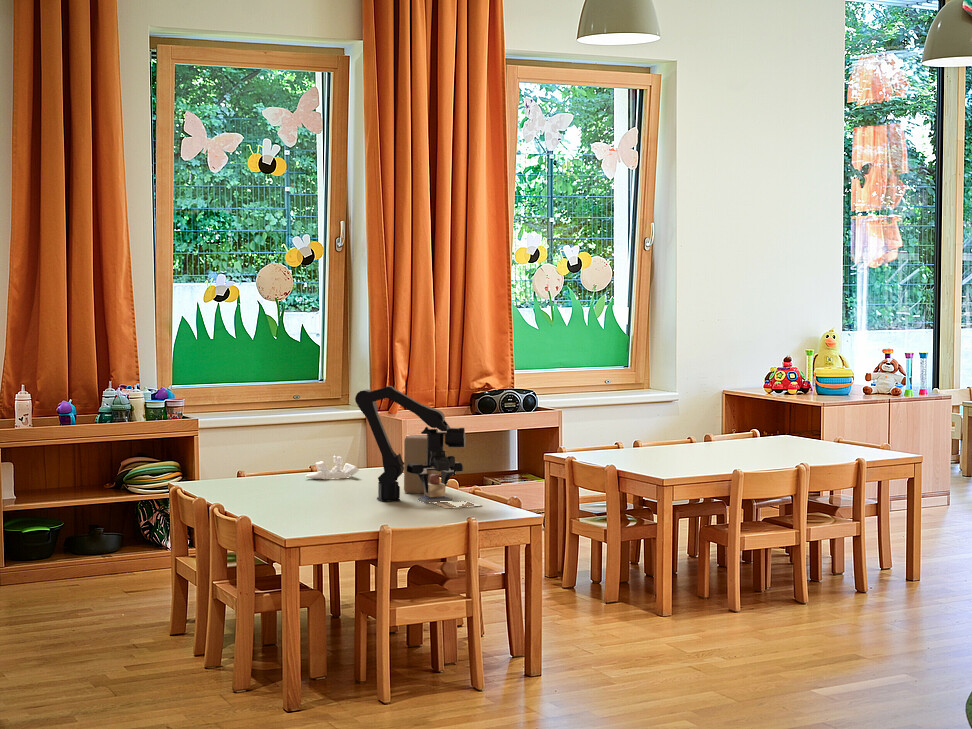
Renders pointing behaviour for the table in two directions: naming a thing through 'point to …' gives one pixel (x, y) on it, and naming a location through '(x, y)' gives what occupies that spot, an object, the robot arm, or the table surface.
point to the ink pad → (433, 499)
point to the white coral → (333, 470)
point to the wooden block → (415, 454)
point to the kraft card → (448, 505)
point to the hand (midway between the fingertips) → (434, 492)
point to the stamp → (435, 487)
